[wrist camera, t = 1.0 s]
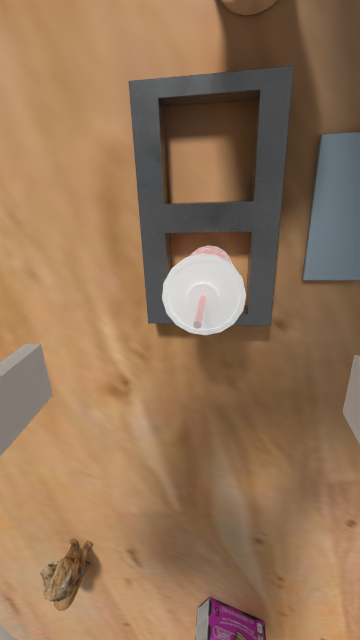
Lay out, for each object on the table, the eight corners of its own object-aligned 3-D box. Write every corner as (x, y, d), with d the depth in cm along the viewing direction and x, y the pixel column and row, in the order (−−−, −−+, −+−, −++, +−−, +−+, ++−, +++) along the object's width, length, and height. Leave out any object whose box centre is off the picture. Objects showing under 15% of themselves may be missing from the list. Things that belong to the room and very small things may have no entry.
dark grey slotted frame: (137, 91, 25) (128, 81, 23) (286, 78, 23) (293, 65, 21) (153, 314, 33) (148, 323, 31) (267, 316, 31) (270, 326, 29)
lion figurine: (61, 522, 50) (29, 587, 42) (92, 528, 49) (66, 595, 41) (68, 573, 56) (41, 639, 48) (96, 579, 55) (73, 647, 47)
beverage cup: (250, 282, 30) (268, 349, 17) (195, 306, 32) (175, 383, 19) (224, 225, 28) (224, 253, 16) (168, 254, 30) (126, 300, 17)
